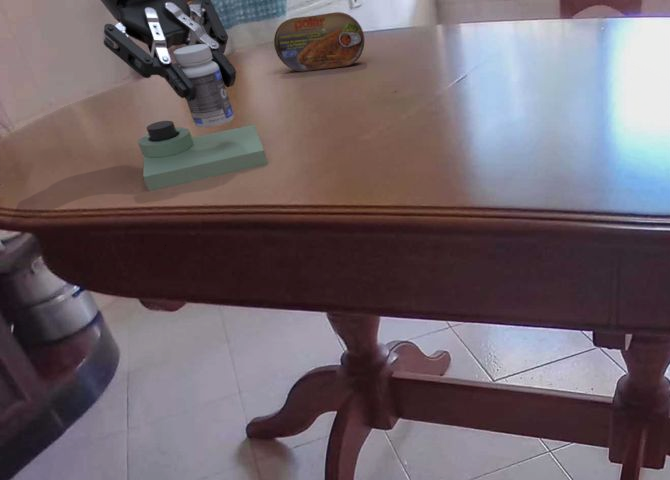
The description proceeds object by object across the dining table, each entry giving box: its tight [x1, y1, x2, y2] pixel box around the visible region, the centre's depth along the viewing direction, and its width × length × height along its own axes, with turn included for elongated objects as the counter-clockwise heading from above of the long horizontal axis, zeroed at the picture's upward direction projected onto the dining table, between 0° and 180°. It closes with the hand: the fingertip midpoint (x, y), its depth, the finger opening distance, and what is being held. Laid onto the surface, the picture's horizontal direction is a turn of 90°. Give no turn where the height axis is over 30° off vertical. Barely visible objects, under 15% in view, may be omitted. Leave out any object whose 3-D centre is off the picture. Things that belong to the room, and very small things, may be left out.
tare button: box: [146, 120, 178, 142], centre depth 87 cm, size 3×3×2 cm
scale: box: [137, 124, 269, 192], centre depth 87 cm, size 14×12×4 cm
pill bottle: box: [173, 44, 235, 129], centre depth 82 cm, size 5×5×8 cm
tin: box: [273, 11, 365, 73], centre depth 118 cm, size 15×3×8 cm, turn 92°
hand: (212, 88), depth 81 cm, fingers closed on pill bottle, 4 cm apart
